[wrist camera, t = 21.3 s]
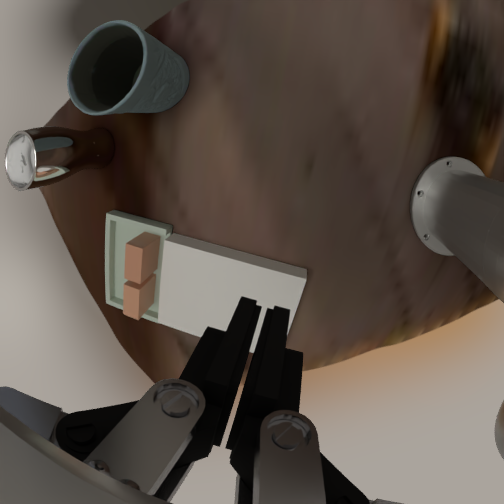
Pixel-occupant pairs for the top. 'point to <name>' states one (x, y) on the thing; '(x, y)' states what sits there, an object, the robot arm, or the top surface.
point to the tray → (116, 237)
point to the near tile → (141, 257)
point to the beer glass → (55, 154)
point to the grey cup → (125, 72)
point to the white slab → (221, 285)
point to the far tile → (138, 297)
